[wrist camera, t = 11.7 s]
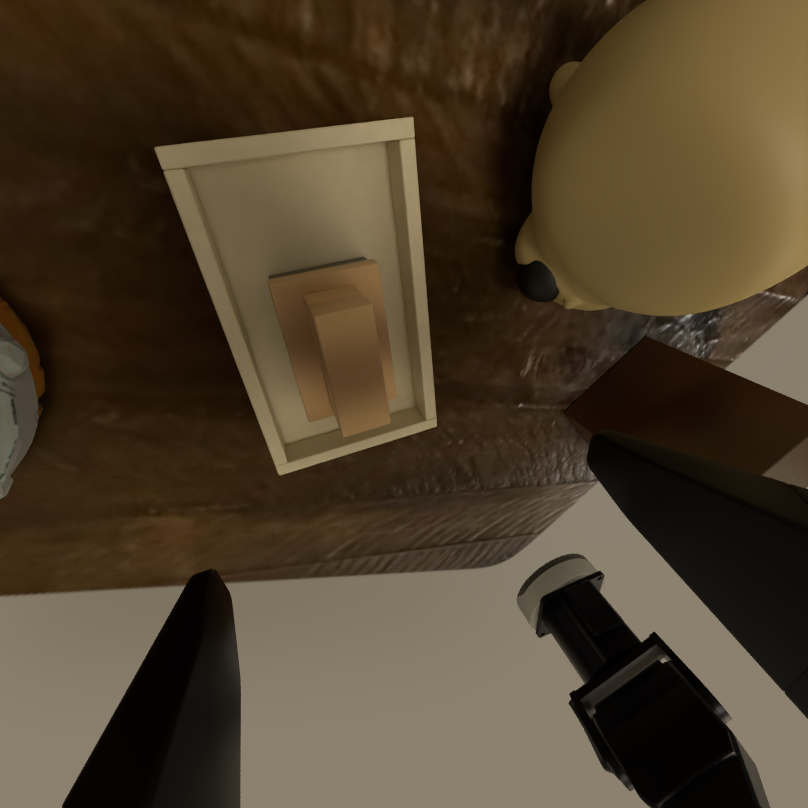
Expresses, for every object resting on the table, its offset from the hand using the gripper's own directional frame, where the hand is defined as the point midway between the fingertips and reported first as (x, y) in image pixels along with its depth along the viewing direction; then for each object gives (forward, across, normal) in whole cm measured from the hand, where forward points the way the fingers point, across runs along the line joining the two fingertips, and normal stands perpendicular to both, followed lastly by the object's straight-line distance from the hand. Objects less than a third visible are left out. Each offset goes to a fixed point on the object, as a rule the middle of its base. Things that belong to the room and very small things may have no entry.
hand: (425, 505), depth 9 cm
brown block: (+11, -18, +9) cm, 23 cm away
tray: (+12, 0, -1) cm, 12 cm away
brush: (+11, 0, 0) cm, 11 cm away
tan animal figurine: (+12, -13, -5) cm, 18 cm away
